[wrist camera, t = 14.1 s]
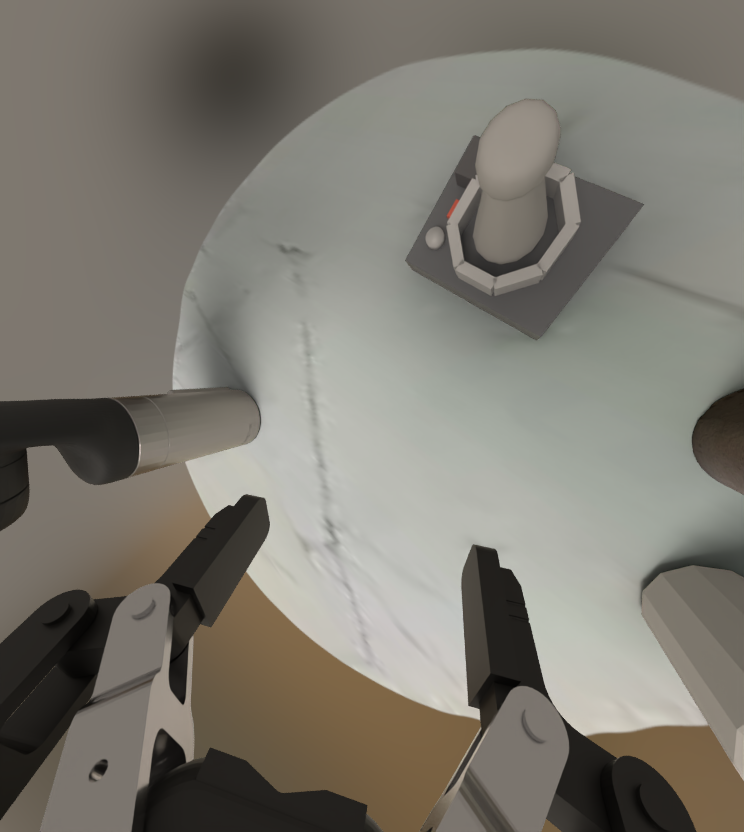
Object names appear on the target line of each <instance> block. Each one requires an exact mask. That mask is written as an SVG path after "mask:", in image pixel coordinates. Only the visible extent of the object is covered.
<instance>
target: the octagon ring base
mask: <svg viewBox="0 0 744 832" xmlns="http://www.w3.org/2000/svg"><path fill="white" fill-rule="evenodd" d="M479 140H480V137H478V136H473V138H472V139H471V141H470V143H469V145H468V147H467V148H466V150H465V152H464V154H463V156H462V158H461V159H460V161H459V163H458V165H457V167H456V169H455V170H454V172H453V174H452V176H451V178H450V180H449V181H448V183H447V185H446V187H445V189H444V190H443V192H442V194H441V196H440V198H439V200H438V201H437V203H436V205H435V207H434V209H433V211H432V212H431V214H430V216H429V218H428V220H427V221H426V223H425V225H424V227H423V229H422V231H421V232H420V234H419V236H418V238H417V240H416V242H415V243H414V245H413V247H412V249H411V251H410V252H409V254H408V256H407V258H406V260H405V261H406V262H407V264H408V265H409V266H410V267H411V269H412V270H414V271H415V272H417V273H419V274H421V275H423V276H424V277H426V278H428V279H430V280H431V281H433V282H435V283H437V284H438V285H440V286H442V287H444V288H445V289H447V290H449V291H451V292H452V293H454V294H456V295H458V296H459V297H461V298H463V299H465V300H466V301H468V302H470V303H472V304H474V305H475V306H477V307H479V308H481V309H482V310H484V311H486V312H488V313H489V314H491V315H493V316H495V317H496V318H498V319H500V320H502V321H503V322H505V323H507V324H509V325H510V326H512V327H514V328H516V329H517V330H519V331H521V332H523V333H524V334H526V335H528V336H530V337H532V338H533V339H535V340H538V339H539V338H540V337H541V336H542V335H543V334H544V332H545V331H546V330H547V329H548V327H549V326H550V325H551V323H552V322H553V321H554V320H555V318H556V317H557V316H558V314H559V313H560V312H561V311H562V309H563V308H564V307H565V305H566V304H567V303H568V302H569V300H570V299H571V298H572V296H573V295H574V294H575V293H576V291H577V290H578V289H579V287H580V286H581V285H582V284H583V282H584V281H585V280H586V278H587V277H588V276H589V275H590V273H591V272H592V271H593V269H594V268H595V267H596V266H597V264H598V263H599V262H600V261H601V259H602V258H603V257H604V255H605V254H606V253H607V252H608V250H609V249H610V248H611V246H612V245H613V244H614V243H615V241H616V240H617V239H618V237H619V236H620V235H621V234H622V232H623V231H624V230H625V228H626V227H627V226H628V225H629V223H630V222H631V221H632V219H633V218H634V217H635V216H636V214H637V213H638V212H639V210H640V209H641V208H642V207H643V205H644V204H642V203H640V202H637V201H635V200H632V199H630V198H627V197H625V196H622V195H620V194H617V193H615V192H612V191H610V190H607V189H605V188H602V187H600V186H597V185H595V184H592V183H590V182H587V181H585V180H582V179H580V178H578V177H575V176H574V173H571V174H570V172H571V169H569V168H567V167H564V166H562V165H559V164H557V163H553V165H552V167H551V168H550V170H549V171H548V173H547V174H546V176H545V186H546V199H547V212H548V219H547V223H546V227H545V231H544V235H543V236H542V237H541V239H540V240H539V242H538V243H537V244H536V246H535V247H534V249H533V250H532V251H531V252H530V253H529V254H527V255H525V256H524V257H522V258H521V259H519V260H518V261H516V262H511V263H506V264H502V265H500V264H496V263H492V262H489V261H486V260H485V259H484V258H483V257H482V256H481V255H480V254H479V253H478V252H477V250H476V246H475V242H474V239H473V232H474V227H475V221H476V216H477V212H478V208H479V204H480V200H481V195H482V191H483V190H482V189H481V188H480V185H479V181H478V177H477V173H476V167H475V163H476V157H477V152H478V146H479Z"/></svg>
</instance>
